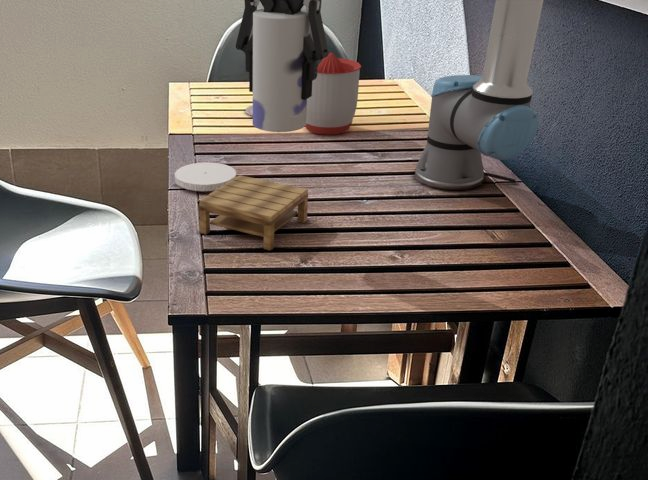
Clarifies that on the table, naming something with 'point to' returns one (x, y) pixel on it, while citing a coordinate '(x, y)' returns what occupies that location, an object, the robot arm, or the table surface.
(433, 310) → the table surface
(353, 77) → the citrus juicer
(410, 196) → the table surface
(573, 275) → the table surface
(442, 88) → the robot arm
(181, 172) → the plastic lid
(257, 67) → the container
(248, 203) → the rack
